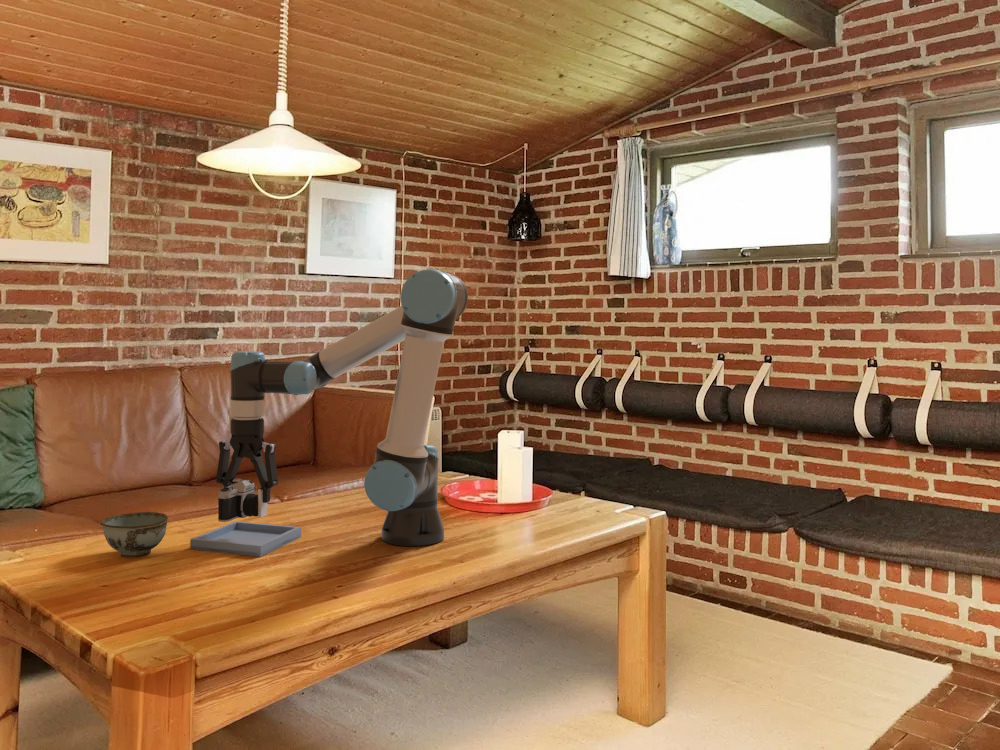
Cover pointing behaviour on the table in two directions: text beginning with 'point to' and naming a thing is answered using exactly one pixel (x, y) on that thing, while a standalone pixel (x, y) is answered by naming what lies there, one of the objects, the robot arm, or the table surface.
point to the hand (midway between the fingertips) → (246, 514)
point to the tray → (246, 538)
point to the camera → (237, 501)
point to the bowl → (135, 532)
